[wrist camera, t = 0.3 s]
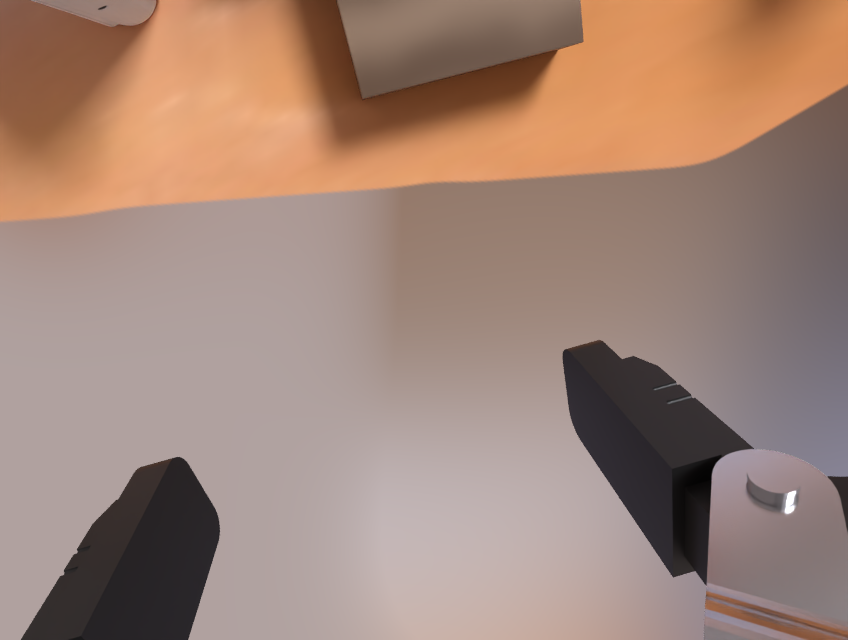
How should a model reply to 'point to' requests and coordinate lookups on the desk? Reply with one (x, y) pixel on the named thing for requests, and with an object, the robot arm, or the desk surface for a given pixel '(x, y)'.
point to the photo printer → (106, 10)
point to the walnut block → (449, 37)
